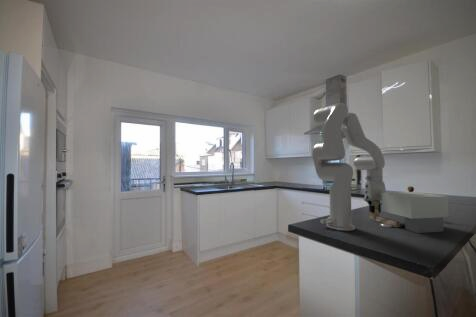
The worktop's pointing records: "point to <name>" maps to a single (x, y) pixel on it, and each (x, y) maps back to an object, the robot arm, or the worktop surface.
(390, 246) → the worktop surface
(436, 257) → the worktop surface
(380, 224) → the grey shiny disc
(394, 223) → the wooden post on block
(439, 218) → the grey block
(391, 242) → the worktop surface
